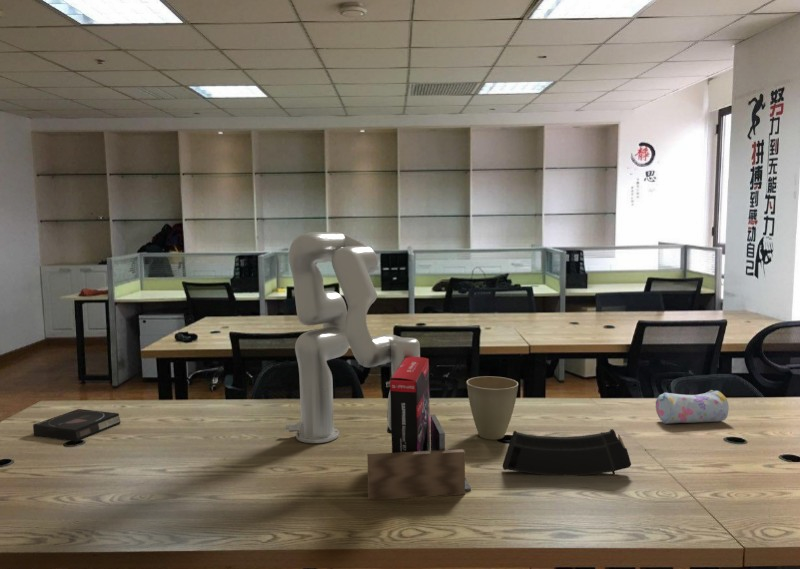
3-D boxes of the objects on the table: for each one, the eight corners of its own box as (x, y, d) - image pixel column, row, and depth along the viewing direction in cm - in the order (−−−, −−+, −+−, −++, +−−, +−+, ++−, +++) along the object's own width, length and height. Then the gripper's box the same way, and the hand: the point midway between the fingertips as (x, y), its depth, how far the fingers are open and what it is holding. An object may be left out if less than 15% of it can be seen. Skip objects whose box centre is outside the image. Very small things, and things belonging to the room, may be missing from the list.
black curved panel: (493, 439, 146) (614, 405, 143) (492, 434, 149) (610, 401, 147) (514, 504, 147) (634, 471, 144) (512, 498, 151) (630, 466, 148)
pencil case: (712, 415, 191) (713, 386, 190) (731, 424, 183) (732, 394, 182) (652, 419, 188) (653, 390, 187) (669, 428, 179) (670, 397, 178)
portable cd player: (77, 443, 174) (76, 430, 174) (33, 437, 180) (33, 424, 179) (120, 425, 190) (120, 413, 189) (79, 420, 195) (78, 408, 195)
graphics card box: (418, 491, 138) (419, 379, 133) (389, 488, 140) (388, 377, 135) (430, 457, 155) (431, 356, 150) (404, 455, 156) (404, 354, 151)
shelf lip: (368, 499, 134) (367, 456, 133) (368, 496, 135) (367, 454, 135) (464, 494, 136) (464, 451, 135) (463, 491, 138) (463, 449, 137)
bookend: (439, 492, 137) (439, 433, 136) (430, 468, 151) (430, 414, 150) (470, 491, 138) (470, 432, 137) (458, 467, 152) (458, 413, 150)
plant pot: (495, 448, 164) (495, 391, 163) (456, 435, 176) (455, 382, 174) (528, 435, 174) (528, 382, 173) (489, 424, 185) (489, 373, 184)
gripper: (378, 390, 151) (380, 460, 153) (436, 387, 153) (437, 457, 154) (376, 383, 159) (378, 450, 160) (432, 380, 160) (433, 447, 162)
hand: (407, 453), depth 157 cm, fingers closed
